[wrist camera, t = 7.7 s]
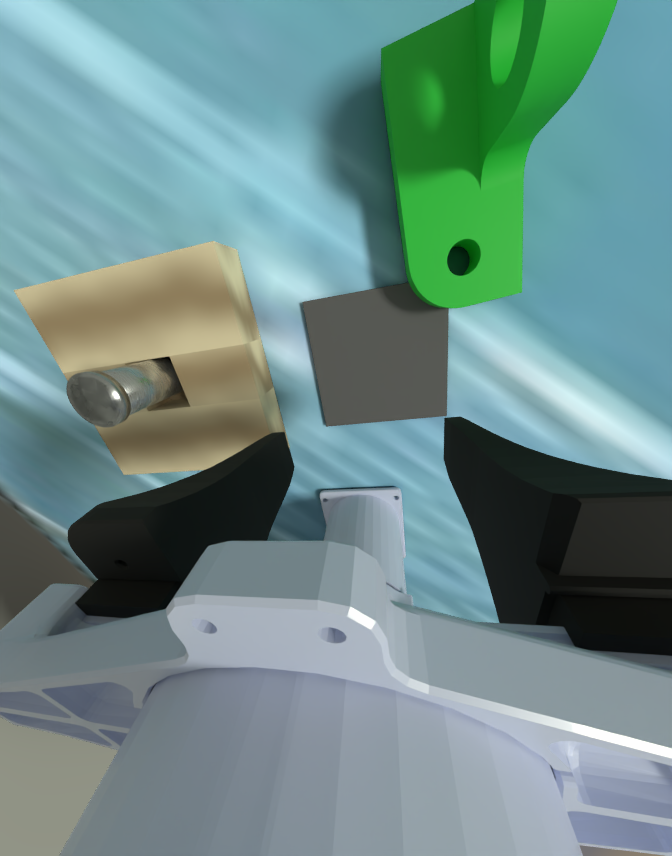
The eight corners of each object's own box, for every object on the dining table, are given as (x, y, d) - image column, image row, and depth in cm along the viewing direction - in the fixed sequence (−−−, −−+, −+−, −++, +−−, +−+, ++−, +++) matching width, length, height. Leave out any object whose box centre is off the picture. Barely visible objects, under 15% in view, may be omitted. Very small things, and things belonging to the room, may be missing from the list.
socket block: (289, 447, 25) (279, 465, 22) (148, 458, 28) (124, 474, 25) (236, 249, 18) (213, 241, 16) (58, 291, 21) (13, 290, 19)
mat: (445, 414, 22) (446, 415, 21) (327, 424, 23) (326, 426, 23) (447, 275, 17) (449, 275, 17) (303, 302, 19) (302, 302, 19)
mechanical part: (380, 81, 14) (384, -158, 7) (504, 23, 13) (673, -351, 5) (412, 318, 18) (434, 324, 11) (506, 293, 17) (601, 283, 10)
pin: (206, 387, 23) (133, 423, 16) (173, 393, 24) (88, 430, 17) (190, 347, 22) (102, 367, 15) (155, 355, 22) (54, 378, 15)
